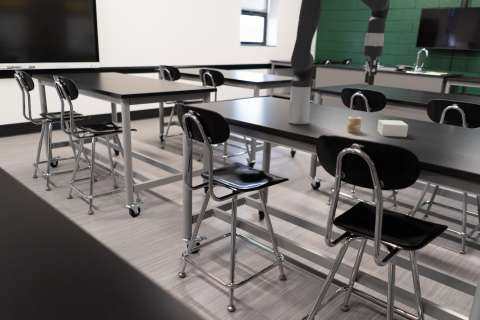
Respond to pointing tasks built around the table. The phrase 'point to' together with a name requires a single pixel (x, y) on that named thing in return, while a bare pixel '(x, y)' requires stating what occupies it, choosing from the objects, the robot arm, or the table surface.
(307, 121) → the robot arm
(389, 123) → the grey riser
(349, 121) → the beech block
